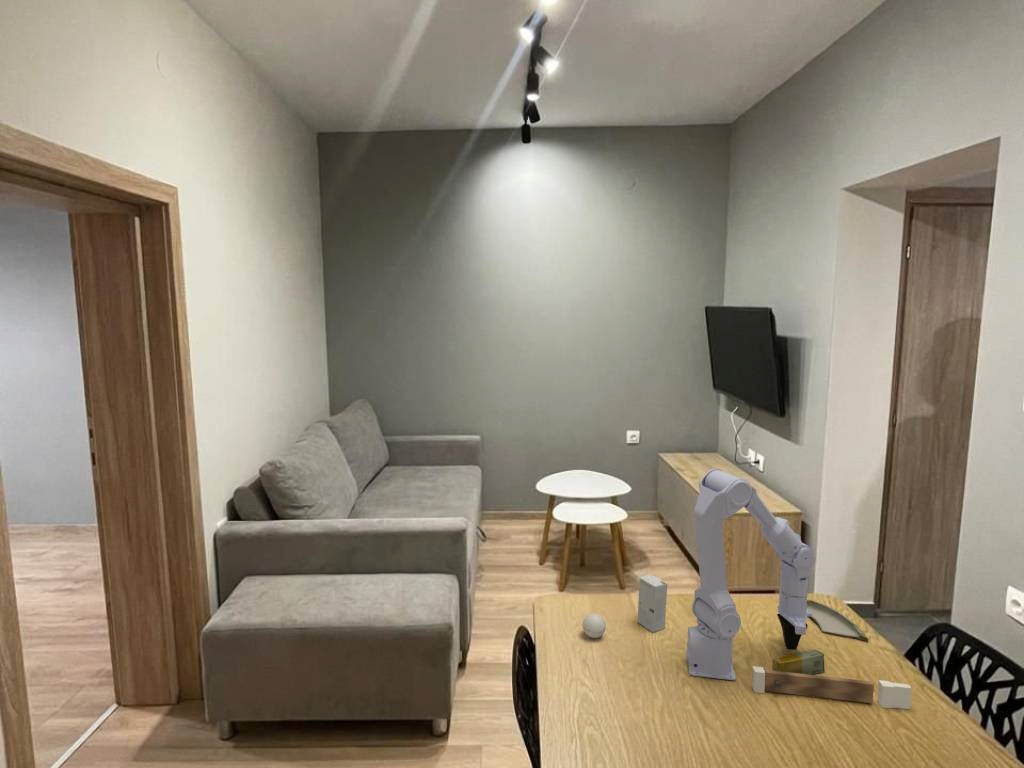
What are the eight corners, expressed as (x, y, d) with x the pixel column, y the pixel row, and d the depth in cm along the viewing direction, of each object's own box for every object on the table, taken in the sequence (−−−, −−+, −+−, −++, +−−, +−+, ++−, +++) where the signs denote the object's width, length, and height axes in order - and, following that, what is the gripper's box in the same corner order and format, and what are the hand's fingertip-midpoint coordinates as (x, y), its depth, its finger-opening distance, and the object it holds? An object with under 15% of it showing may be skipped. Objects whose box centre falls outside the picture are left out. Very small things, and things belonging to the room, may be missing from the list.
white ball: (605, 630, 144) (605, 609, 143) (606, 643, 138) (606, 621, 138) (574, 629, 145) (574, 607, 144) (574, 641, 139) (574, 619, 139)
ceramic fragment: (869, 643, 138) (870, 623, 138) (850, 649, 135) (851, 629, 135) (804, 610, 155) (805, 592, 154) (786, 615, 152) (786, 597, 152)
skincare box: (636, 622, 148) (637, 576, 147) (650, 617, 150) (651, 573, 149) (653, 633, 142) (654, 586, 141) (666, 628, 145) (668, 582, 143)
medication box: (815, 666, 129) (815, 648, 129) (825, 672, 126) (825, 654, 126) (771, 675, 125) (771, 657, 125) (780, 681, 123) (780, 662, 123)
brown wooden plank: (766, 693, 119) (767, 675, 118) (764, 687, 121) (765, 669, 120) (874, 706, 115) (875, 687, 114) (870, 700, 116) (871, 681, 116)
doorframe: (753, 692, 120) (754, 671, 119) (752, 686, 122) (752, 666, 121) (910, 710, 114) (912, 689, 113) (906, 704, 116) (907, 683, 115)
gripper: (822, 608, 124) (819, 668, 125) (803, 579, 138) (800, 633, 139) (787, 605, 125) (784, 664, 127) (771, 576, 139) (769, 630, 141)
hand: (790, 648), depth 133 cm, fingers closed
